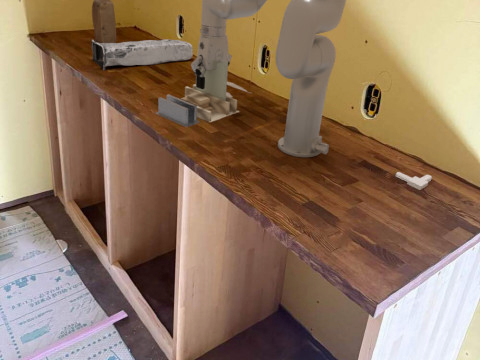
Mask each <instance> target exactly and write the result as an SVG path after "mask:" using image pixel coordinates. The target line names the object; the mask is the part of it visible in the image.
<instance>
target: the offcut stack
mask: <svg viewBox="0 0 480 360" xmlns="http://www.w3.org/2000/svg"><path fill="white" fill-rule="evenodd" d="M180 99H181V100H184V101H186V102H189V103H191V104H194V105H196V106H198V107H201V108H203V109H206V110H208V111H211V113H212V112H213V108H212V107H209V106H208V105H209V103H210V98H208V97H206V96H203V95H200V94H198V93H194V94H191V95H187V97H185V96H184V97H182V98H180Z"/></svg>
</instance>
